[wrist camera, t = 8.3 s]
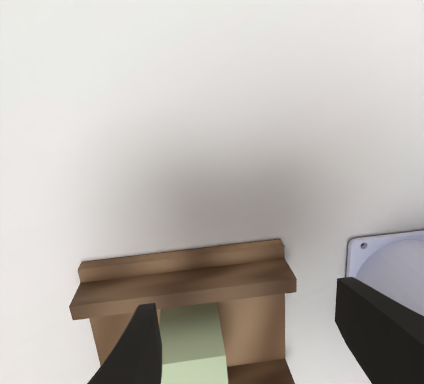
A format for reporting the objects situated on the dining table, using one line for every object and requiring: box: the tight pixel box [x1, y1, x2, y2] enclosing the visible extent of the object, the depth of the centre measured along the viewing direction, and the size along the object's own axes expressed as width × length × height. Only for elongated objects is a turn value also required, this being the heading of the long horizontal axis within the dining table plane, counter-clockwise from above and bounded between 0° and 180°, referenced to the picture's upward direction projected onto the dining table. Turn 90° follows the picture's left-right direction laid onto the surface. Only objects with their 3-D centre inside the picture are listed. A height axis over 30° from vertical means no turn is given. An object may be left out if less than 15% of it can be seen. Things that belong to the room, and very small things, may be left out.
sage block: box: [159, 302, 228, 384], centre depth 22 cm, size 4×4×5 cm
